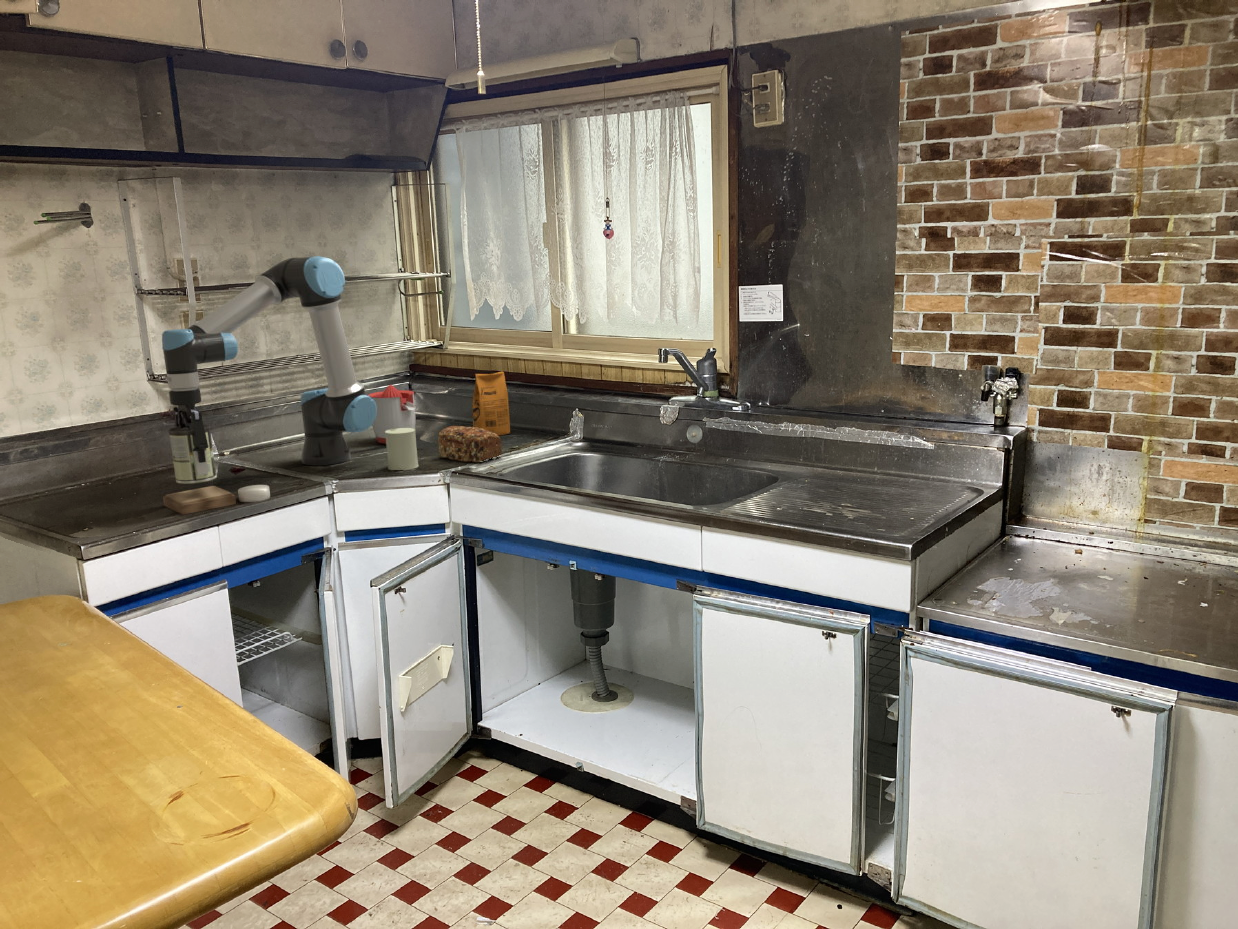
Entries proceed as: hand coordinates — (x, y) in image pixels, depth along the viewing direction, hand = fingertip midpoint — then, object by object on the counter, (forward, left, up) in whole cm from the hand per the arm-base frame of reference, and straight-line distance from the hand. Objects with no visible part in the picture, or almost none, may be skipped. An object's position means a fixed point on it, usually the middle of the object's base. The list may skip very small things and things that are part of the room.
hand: (195, 471), depth 259 cm
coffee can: (0, 0, -2) cm, 2 cm away
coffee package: (-109, -18, -10) cm, 111 cm away
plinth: (0, 0, -9) cm, 9 cm away
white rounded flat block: (-13, +5, -10) cm, 17 cm away
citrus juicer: (-80, -34, -10) cm, 88 cm away
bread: (-81, +9, -10) cm, 82 cm away
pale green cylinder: (-60, +4, -10) cm, 61 cm away
